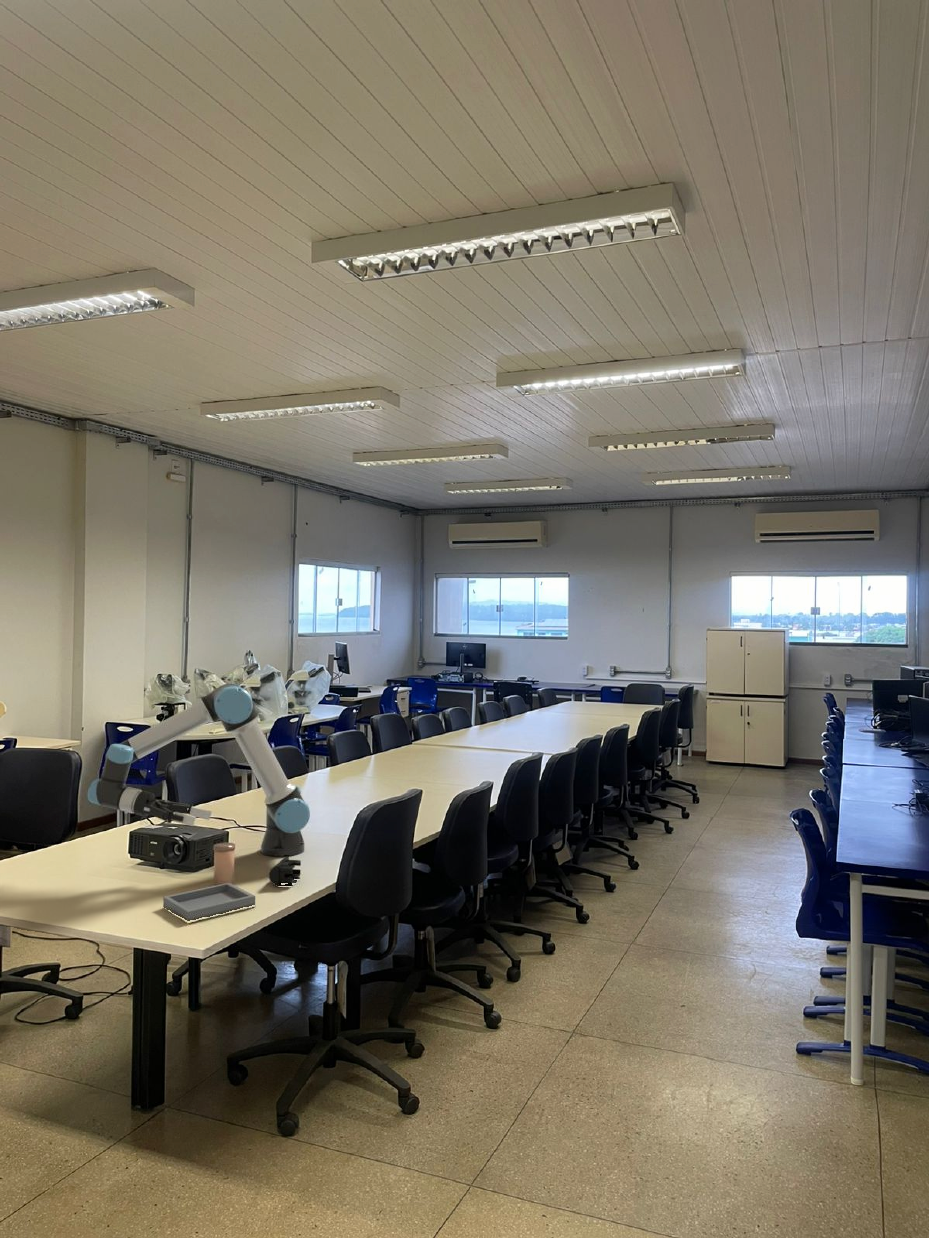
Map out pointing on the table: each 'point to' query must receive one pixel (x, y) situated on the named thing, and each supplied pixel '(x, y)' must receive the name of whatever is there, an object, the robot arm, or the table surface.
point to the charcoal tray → (208, 901)
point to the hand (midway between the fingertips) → (202, 818)
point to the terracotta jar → (224, 863)
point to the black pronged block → (285, 872)
